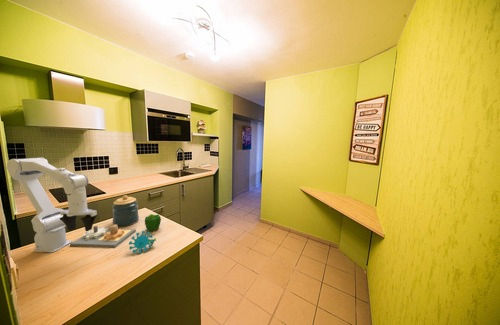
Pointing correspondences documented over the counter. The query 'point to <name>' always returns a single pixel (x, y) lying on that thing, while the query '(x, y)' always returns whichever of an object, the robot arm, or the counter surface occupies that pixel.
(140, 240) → the teal virus toy
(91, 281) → the counter surface
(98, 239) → the gear board
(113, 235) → the wood gear
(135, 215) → the canister
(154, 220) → the bell pepper
